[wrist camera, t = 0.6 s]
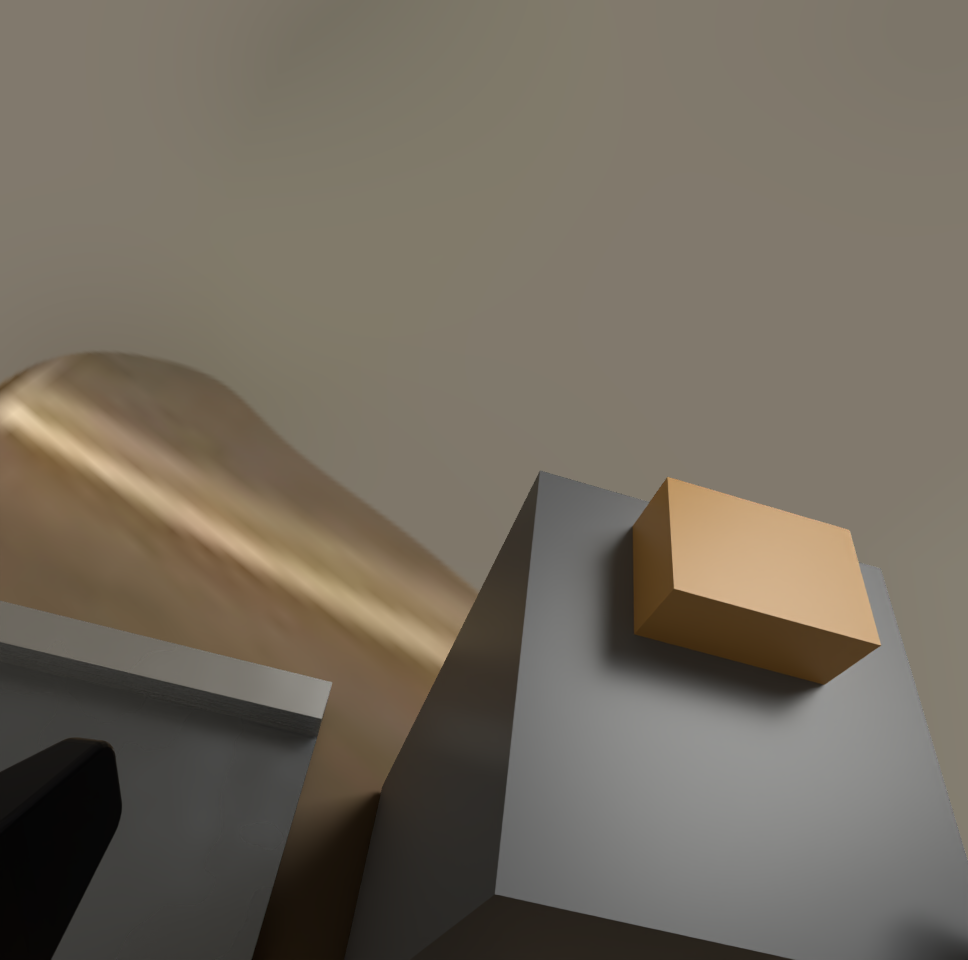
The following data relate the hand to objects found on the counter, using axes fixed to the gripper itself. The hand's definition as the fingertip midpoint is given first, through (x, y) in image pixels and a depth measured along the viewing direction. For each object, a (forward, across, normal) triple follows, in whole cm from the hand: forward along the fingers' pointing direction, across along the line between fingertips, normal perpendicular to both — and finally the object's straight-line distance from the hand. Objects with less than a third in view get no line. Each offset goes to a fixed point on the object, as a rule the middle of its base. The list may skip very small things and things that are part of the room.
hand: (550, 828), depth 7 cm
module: (+7, +1, +10) cm, 13 cm away
